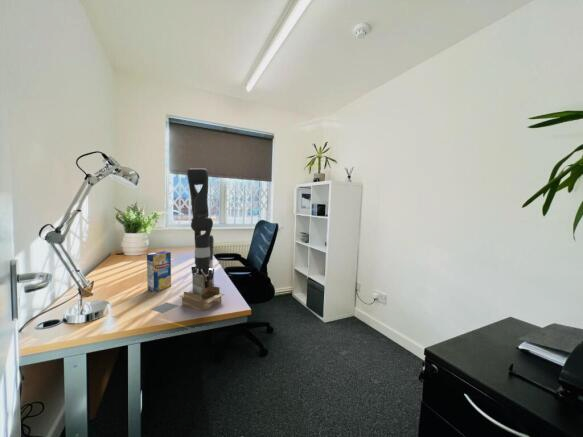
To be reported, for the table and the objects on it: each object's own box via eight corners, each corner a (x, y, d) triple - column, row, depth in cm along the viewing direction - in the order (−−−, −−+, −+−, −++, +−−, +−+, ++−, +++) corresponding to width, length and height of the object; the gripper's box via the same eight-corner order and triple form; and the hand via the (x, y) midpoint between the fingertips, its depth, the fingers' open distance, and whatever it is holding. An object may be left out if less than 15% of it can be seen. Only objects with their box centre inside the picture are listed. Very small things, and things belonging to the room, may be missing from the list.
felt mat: (166, 303, 122) (166, 302, 122) (178, 306, 118) (178, 305, 118) (150, 310, 113) (150, 309, 113) (162, 314, 110) (162, 313, 110)
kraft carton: (198, 296, 131) (198, 282, 131) (224, 302, 124) (224, 288, 123) (178, 305, 119) (178, 290, 119) (206, 313, 112) (206, 297, 111)
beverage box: (147, 289, 140) (146, 254, 139) (164, 284, 150) (164, 251, 148) (153, 291, 137) (153, 255, 135) (171, 286, 146) (170, 252, 145)
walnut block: (205, 288, 127) (205, 270, 126) (212, 289, 125) (212, 271, 124) (192, 294, 118) (192, 275, 118) (200, 295, 116) (199, 276, 116)
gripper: (218, 255, 121) (218, 286, 122) (197, 252, 126) (197, 282, 128) (207, 258, 114) (208, 291, 115) (186, 255, 119) (187, 286, 121)
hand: (202, 286), depth 121 cm, fingers closed on walnut block, 5 cm apart
